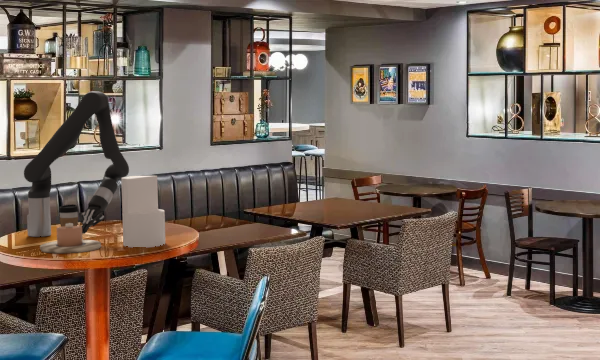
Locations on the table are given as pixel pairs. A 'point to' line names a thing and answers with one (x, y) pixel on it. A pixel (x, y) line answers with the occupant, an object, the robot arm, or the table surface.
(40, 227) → the robot arm
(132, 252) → the table surface
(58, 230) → the knobbed pink canister
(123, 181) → the grey piece
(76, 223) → the coffee cup
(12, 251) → the table surface
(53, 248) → the serving board
